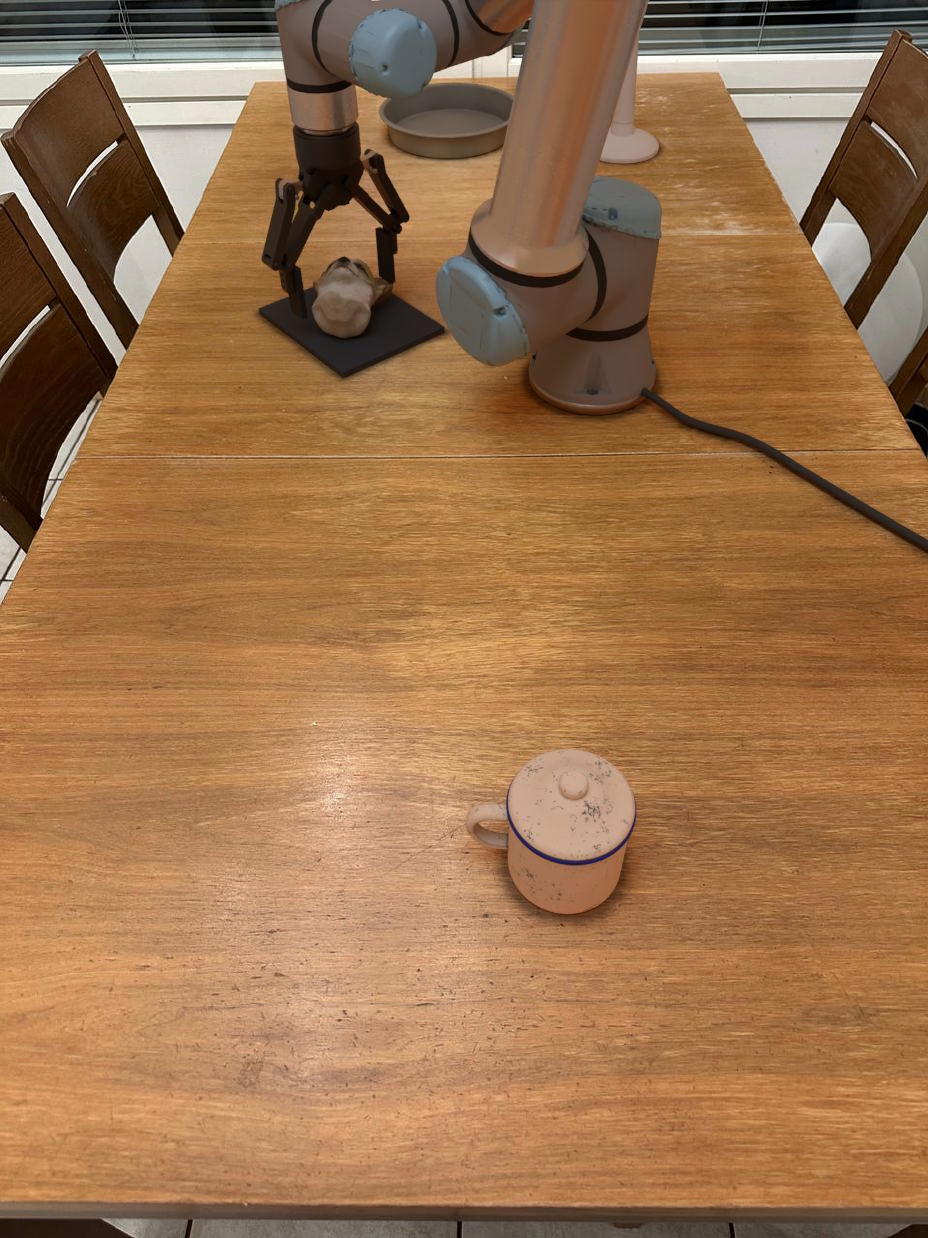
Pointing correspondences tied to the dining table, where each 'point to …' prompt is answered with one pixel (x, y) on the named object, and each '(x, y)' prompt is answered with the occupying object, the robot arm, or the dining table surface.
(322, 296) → the ceramic sculpture
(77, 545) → the dining table surface
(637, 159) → the candlestick
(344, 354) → the desk pad
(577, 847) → the teacup with lid
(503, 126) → the cake pan
